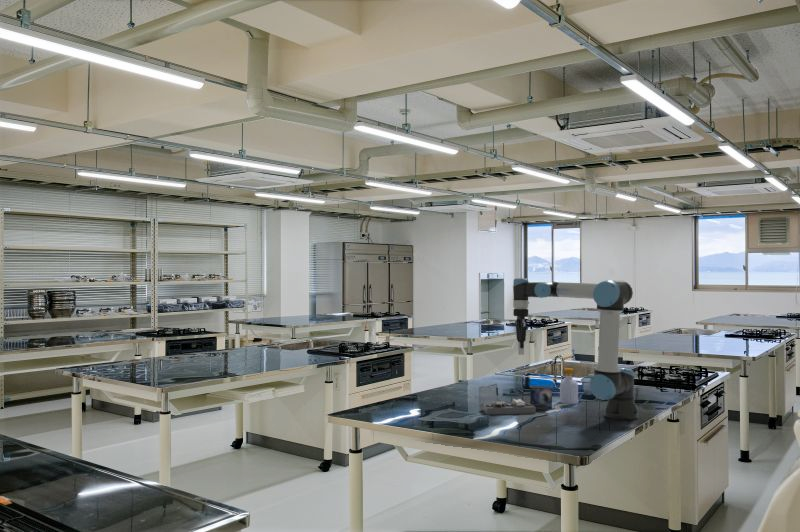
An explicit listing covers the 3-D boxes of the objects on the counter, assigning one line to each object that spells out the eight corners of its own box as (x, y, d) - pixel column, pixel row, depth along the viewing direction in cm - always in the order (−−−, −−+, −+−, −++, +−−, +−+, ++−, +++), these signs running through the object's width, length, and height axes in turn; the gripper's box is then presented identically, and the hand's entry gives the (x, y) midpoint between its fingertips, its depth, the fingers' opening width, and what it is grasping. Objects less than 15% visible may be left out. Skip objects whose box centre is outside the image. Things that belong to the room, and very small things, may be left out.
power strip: (551, 412, 303) (551, 403, 303) (487, 414, 300) (487, 405, 300) (544, 408, 313) (544, 399, 313) (482, 410, 310) (482, 400, 310)
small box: (530, 408, 314) (530, 387, 314) (530, 405, 320) (529, 385, 320) (552, 409, 312) (552, 388, 312) (551, 406, 319) (550, 385, 319)
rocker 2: (524, 405, 303) (524, 402, 303) (517, 405, 303) (517, 402, 303) (519, 401, 311) (519, 398, 311) (512, 401, 311) (512, 398, 311)
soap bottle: (578, 404, 321) (578, 357, 322) (560, 404, 323) (560, 356, 324) (577, 401, 330) (577, 354, 331) (559, 400, 332) (559, 354, 332)
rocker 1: (504, 403, 302) (504, 400, 302) (497, 403, 302) (496, 401, 302) (500, 403, 310) (500, 400, 310) (493, 403, 309) (493, 401, 310)
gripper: (531, 309, 314) (532, 356, 313) (524, 307, 327) (524, 352, 326) (517, 309, 313) (517, 356, 313) (510, 307, 326) (510, 352, 326)
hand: (521, 354), depth 320 cm, fingers closed
